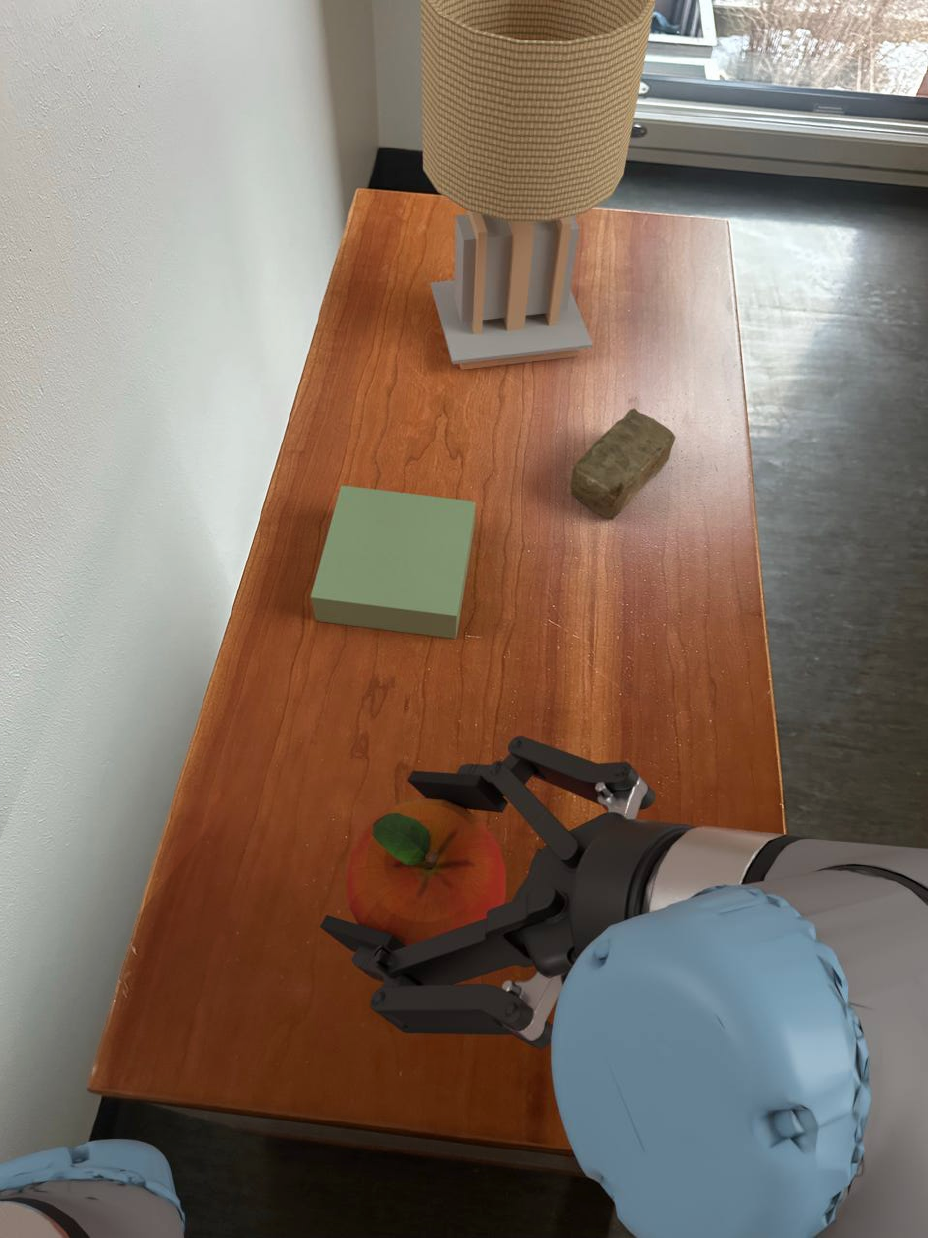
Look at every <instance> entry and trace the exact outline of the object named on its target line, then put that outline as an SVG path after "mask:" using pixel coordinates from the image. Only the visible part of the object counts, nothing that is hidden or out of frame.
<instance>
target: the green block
mask: <svg viewBox="0 0 928 1238" xmlns="http://www.w3.org/2000/svg"><path fill="white" fill-rule="evenodd" d="M338 491H339V492H338V496H337V499H336V501H335V505H334V511H333V513H332V517H331V520H330V524H329V528H328V531H327V534H326V535H327V536H326V538H325V539H326V540H325V543H324V545H323V550H322V554H321V557H320V561H319V564H318V569H317V572H316V576H315V579H314V583H313V587H312V590H311V593H310V600H311V605H312V609H313V615H314V619H315V622H322V623H328V624H329V623H330V624H336V625H343V626H344V625H345V626H351V627H352V626H353V627H359V628H360V627H361V628H366V629H375V630H383V631H390V632H398V633H405V634H412V635H421V636H429V637H436V638H443V639H444V638H445V639H451V640H452V639H453V640H456V639H457V637H458V632H459V631H458V629H459V624H460V620H461V618H460V617H461V613H462V606H463V600H464V593H465V588H466V582H467V576H468V570H469V563H470V558H471V551H472V545H473V538H474V532H475V525H476V524H475V521H476V508H477V507H476V506H477V501H474V500H473V501H472V500H464V499H458V498H457V499H456V498H447V497H439V496H432V495H424V494H416V493H407V492H399V491H390V490H382V489H375V488H366V487H359V486H358V487H357V486H349V485H340V488H339V490H338Z"/></svg>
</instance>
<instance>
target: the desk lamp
mask: <svg viewBox="0 0 928 1238" xmlns="http://www.w3.org/2000/svg"><path fill="white" fill-rule="evenodd" d="M656 1H657V0H420V26H421V27H420V28H421V29H420V30H421V33H420V35H421V37H420V38H421V108H422V111H421V112H422V120H421V121H422V170H423V172H424V174H425V175H426V177H427V178H428V180H429V181H430V183H431V184H432V186H433V187H434V189H435V191H437V193H439V194H440V195H442V196H443V197H444V198H446V199H448V200H450V202H453V203H455V205H457V206H459V207H461V208H463V209H464V210H466V214H459V215H455V234H454V235H455V240H454V241H455V242H454V243H455V244H454V279H453V280H443V281H441V280H440V281H434V282H430V288H431V291H432V295H433V299H434V303H435V306H436V309H437V313H438V317H439V320H440V321H439V322H440V324H441V328H442V332H443V336H444V339H445V342H446V346H447V350H448V354H449V357H450V360H451V364H452V365H459V368H460V371H462V370H463V371H464V370H472V369H479V368H490V367H496V366H497V367H498V366H506V365H514V364H524V363H531V362H539V361H540V362H541V361H549V360H556V359H557V360H558V359H565V358H573V357H574V358H575V357H578V351H579V350H589V349H593V346H594V344H593V342H592V339H591V337H590V334H589V332H588V329H587V327H586V324H585V322H584V320H583V319H584V318H583V316H582V314H581V312H580V309H579V307H578V305H577V302H576V299H575V297H574V294H573V292H572V290H571V288H572V280H573V276H574V270H575V269H574V268H575V263H576V262H575V261H576V256H577V255H576V254H577V249H578V248H577V247H578V242H579V235H580V227H579V224H578V221H577V219H576V217H575V216H579V215H583V214H586V213H587V212H589V211H590V210H592V209H594V208H595V207H597V206H598V205H600V204H602V203H603V202H605V201H607V200H609V199H610V198H611V197H612V196H613V194H614V192H615V191H616V189H617V187H618V185H619V184H620V182H621V180H622V179H623V177H624V173H625V169H626V168H625V167H626V163H627V162H626V161H627V156H628V152H629V145H630V141H631V136H632V130H633V124H634V119H635V115H636V114H635V113H636V108H637V103H638V98H639V92H640V87H641V81H642V77H643V71H644V66H645V60H646V54H647V50H648V44H649V39H650V32H651V27H652V23H653V18H654V11H655V6H656Z"/></svg>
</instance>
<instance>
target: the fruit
mask: <svg viewBox="0 0 928 1238" xmlns="http://www.w3.org/2000/svg"><path fill="white" fill-rule="evenodd" d="M503 859H504V858H503V856H502V852H501V849H500V846H499V843H498V842H497V840H496V838H495V837H494V836H493V834H492V832H491V831H490V829H489V828H488V826H487V825H486V823H484V822H483V821H482V820H481V819H480V818H479V817H478V816H476V815H475V814H474V813H473V812H471V811H470V809H466V808H464V807H461V806H459V805H456V804H454V803H451V802H449V801H446V800H442V799H430V798H425V797H418V798H414V799H409V800H405V801H400V802H397V803H396V804H394V805H392V806H390V807H389V808H387V809H386V810H383V811H382V812H380V813H378V814H377V815H376V816H375V818H374V819H373V820H372V821H371V822H370V823H369V824H368V825H367V826H366V827H365V829H364V830H363V831H361V834H360V835H359V838H358V840H357V841H356V843H355V846H354V848H353V850H352V852H351V854H350V860H349V864H348V871H347V877H346V884H345V886H346V893H347V898H348V899H347V900H348V907H349V910H350V912H351V914H352V916H353V918H354V920H355V922H356V924H358V925H362V926H365V927H368V928H372V929H375V930H378V931H382V932H385V933H388V934H392V935H394V936H395V937H396V938H398V939H399V940H400V941H401V942H402V943H404V944H405V945H406V946H409V945H412V944H414V943H417V942H420V941H423V940H426V939H429V938H431V937H434V936H437V935H440V934H443V933H446V932H449V931H451V930H454V929H457V928H460V927H463V926H466V925H468V924H471V923H474V922H477V921H480V920H483V919H485V918H487V912H488V910H490V909H492V908H495V907H498V906H501V905H503V904H505V901H506V898H507V871H506V865H505V862H504V860H503Z"/></svg>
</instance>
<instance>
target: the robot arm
mask: <svg viewBox="0 0 928 1238" xmlns="http://www.w3.org/2000/svg"><path fill="white" fill-rule="evenodd" d="M507 751H508V752H509V753H508V754H507V755H506V757H505V758H504V759H503V760H496V761H493V762H492V763H491V764H481V763H465V764H462V765H460V766H459V768H458V770H457V771H456V773H455V772H454V773H453V772H440V771H438V772H437V771H425V770H424V771H423V770H412V771H411V773H410V775H409V776H408V778H407V780H406V782H408V783H409V784H410V785H411V786H412V787H413V788H414V789H416V791H418V793H420V794H421V795H422V796H423V798H430V799H442V800H446V801H449V802H451V803H454V804H456V805H459V806H461V807H464V808H466V809H468V810H474V811H481V812H482V811H483V812H492V813H501V814H503V813H504V811H505V809H506V808H507V805H508V803H510V804H511V805H512V807H514V809H515V810H516V811H517V812H518V813H519V814H520V816H522V817H523V819H524V820H525V821H526V822H527V823H528V824H529V825H530V827H531V829H532V830H533V831H534V832H535V833H536V834H537V835H538V837H539V838H540V839H541V840H542V841H543V843H545V844H546V845H545V846H544V847H543V848H537V849H536V851H535V854H534V855H533V857H532V859H531V862H530V864H529V869H528V873H527V876H526V878H525V879H524V880H523V882H522V883H521V884H520V885H519V886H518V888H517V890H516V892H515V894H514V896H513V898H512V900H511V901H509V902H506V903H504V904H503V905H501V906H498V907H495V908H492V909H490V910H488V912H487V918H485V919H483V920H480V921H477V922H474V923H471V924H468V925H466V926H463V927H460V928H457V929H454V930H451V931H449V932H446V933H443V934H440V935H437V936H434V937H431V938H429V939H426V940H423V941H420V942H417V943H414V944H412V945H409V946H406V945H405V944H404V943H402V942H401V941H400V940H399V939H398V938H396V937H395V936H394V935H392V934H388V933H385V932H382V931H378V930H375V929H372V928H368V927H365V926H362V925H358V924H357V923H355V922H351V921H349V920H345V919H341V918H339V917H335V916H330V915H328V914H326V915H325V917H324V918H323V920H322V922H321V923H320V925H319V928H320V929H321V930H323V931H324V932H326V933H327V934H328V935H330V936H331V937H332V938H333V939H334V940H336V941H337V942H339V943H340V944H341V945H342V946H344V947H345V948H346V949H348V950H349V951H351V952H353V953H354V954H353V955H352V957H351V959H350V960H351V962H352V964H353V965H354V966H355V967H356V968H358V969H359V970H360V971H361V972H362V973H364V974H366V975H367V976H368V977H369V978H371V979H373V980H376V981H379V982H381V983H382V986H381V987H379V988H378V989H376V990H375V992H373V994H372V995H371V998H370V1002H369V1005H370V1009H371V1010H373V1011H374V1012H375V1013H376V1014H378V1015H379V1016H380V1017H382V1018H383V1019H384V1020H386V1021H387V1022H388V1023H390V1024H391V1025H393V1026H394V1027H396V1029H398V1030H400V1031H401V1032H402V1033H404V1034H433V1035H434V1034H436V1035H437V1034H438V1035H442V1034H444V1035H494V1036H495V1035H496V1036H497V1035H499V1036H500V1035H501V1036H502V1035H503V1036H504V1035H505V1036H514V1037H515V1038H517V1039H519V1040H521V1041H523V1042H524V1043H526V1044H527V1045H530V1046H532V1047H533V1048H535V1049H539V1050H543V1049H546V1048H547V1047H549V1046H551V1047H550V1049H551V1050H550V1051H551V1052H550V1053H551V1056H550V1059H551V1060H550V1062H551V1076H552V1084H553V1091H554V1097H555V1101H556V1105H557V1108H558V1112H559V1116H560V1119H561V1123H562V1125H563V1129H564V1131H565V1134H566V1137H567V1141H568V1143H569V1145H570V1147H571V1149H572V1152H573V1154H574V1156H575V1158H576V1160H577V1162H578V1165H579V1167H580V1168H581V1170H582V1171H583V1173H584V1174H585V1176H586V1177H587V1178H589V1179H591V1180H593V1181H595V1182H597V1183H598V1184H600V1186H601V1187H602V1188H603V1190H604V1191H605V1193H607V1195H608V1196H609V1198H610V1199H612V1201H613V1203H614V1205H615V1211H616V1216H617V1219H618V1220H619V1221H620V1222H621V1223H622V1225H623V1226H624V1227H625V1228H626V1229H627V1230H628V1231H629V1232H630V1234H632V1235H633V1236H634V1237H635V1238H928V848H921V847H920V848H919V847H909V846H897V845H885V844H875V843H874V844H873V843H861V842H851V841H850V842H849V841H837V840H826V839H815V838H812V837H805V836H797V835H796V836H795V835H788V834H785V833H776V832H775V833H774V832H766V831H757V830H747V829H739V828H732V827H731V828H730V827H721V826H711V825H701V826H695V825H692V824H687V823H679V822H678V823H677V822H668V821H657V820H647V819H639V818H637V816H638V813H639V811H640V810H646V809H649V808H650V807H651V806H652V805H653V804H654V802H655V801H656V797H657V795H656V792H655V791H654V790H653V789H652V787H651V786H650V785H649V784H648V783H647V782H646V781H645V780H644V779H643V777H642V776H641V775H640V774H639V773H638V772H637V770H636V769H635V768H634V767H633V765H631V764H630V763H629V762H627V761H617V762H615V761H614V762H602V763H598V762H595V761H592V760H589V759H586V758H583V757H581V756H578V755H575V754H573V753H570V752H568V751H565V750H562V749H559V748H556V747H554V746H551V745H548V744H546V743H543V742H541V741H537V740H535V739H532V738H529V737H526V736H524V735H517V736H515V737H514V738H512V739H511V740H510V742H509V743H508V745H507ZM532 777H533V778H536V779H539V780H540V781H543V782H545V783H548V784H550V785H553V786H554V787H556V788H560V789H561V790H564V791H566V792H569V793H572V794H574V795H576V796H578V797H581V798H583V799H585V800H588V801H590V802H592V803H594V804H597V805H599V806H601V807H602V808H603V809H604V810H605V811H606V812H603V813H601V814H599V815H598V816H596V817H594V818H592V819H590V820H587V821H586V822H584V823H582V824H580V825H578V826H576V827H574V828H572V829H570V830H569V829H568V828H567V827H565V825H564V824H563V823H562V822H561V821H560V820H559V819H558V818H557V817H556V816H555V815H554V814H553V813H552V812H551V811H550V810H549V809H548V807H547V806H546V805H545V804H544V803H543V802H542V801H541V800H540V799H539V798H538V797H537V796H536V795H535V794H534V793H533V791H531V789H529V788H528V787H527V785H526V784H527V783H528V782H529V780H530V779H531V778H532ZM636 818H637V819H636ZM515 966H517V967H521V968H532V967H534V968H535V970H536V972H535V974H534V975H533V976H532V977H531V978H530V979H528V980H516V981H515V982H514V981H513V980H511V979H506V980H505V981H504V982H503V983H502V984H501V987H500V986H496V985H494V984H489V983H465V984H464V983H463V982H466V981H470V980H472V979H475V978H478V977H481V976H485V975H487V974H491V973H494V972H497V971H501V970H504V969H507V968H510V967H515ZM460 983H462V984H460ZM556 1002H557V1003H556ZM555 1004H556V1007H555ZM554 1007H555V1010H554V1015H553V1016H554V1017H553V1023H551V1022H549V1020H548V1018H549V1016H550V1015H551V1012H552V1010H553V1008H554ZM185 1229H186V1217H185V1210H184V1207H183V1205H181V1201H180V1199H179V1198H178V1196H177V1193H176V1188H175V1184H174V1179H173V1175H172V1169H171V1167H170V1164H169V1161H168V1160H167V1158H166V1156H165V1155H164V1153H163V1152H162V1151H160V1150H159V1149H158V1148H157V1147H155V1146H154V1145H152V1144H150V1143H147V1142H144V1141H140V1140H136V1139H125V1138H112V1139H111V1138H110V1139H97V1140H92V1141H86V1142H84V1143H82V1144H79V1145H77V1146H75V1147H68V1146H65V1145H64V1146H59V1147H54V1148H48V1149H45V1150H41V1151H37V1152H32V1153H29V1154H26V1155H23V1156H20V1157H17V1158H13V1159H10V1160H7V1161H5V1162H2V1163H0V1238H185V1235H184V1234H185Z"/></svg>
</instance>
